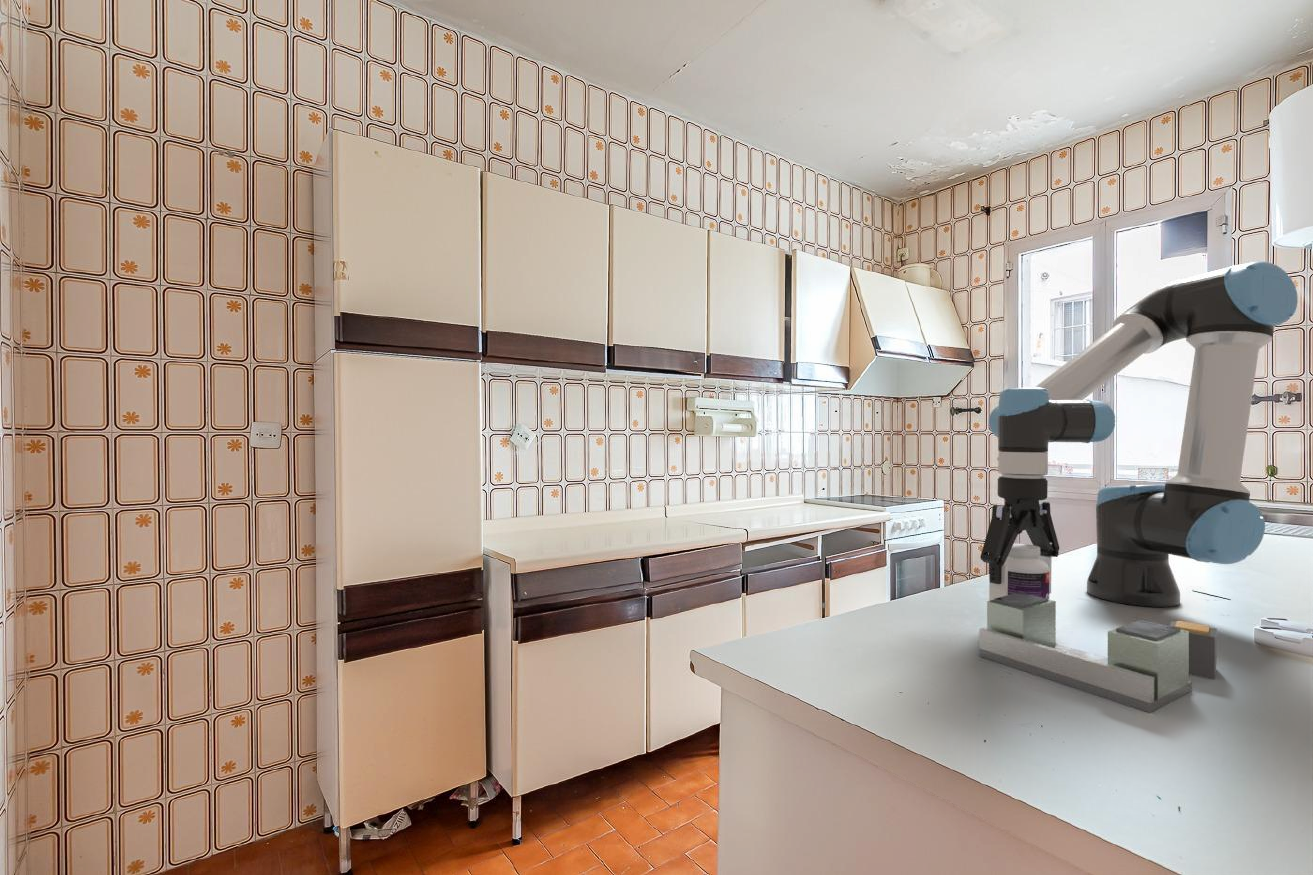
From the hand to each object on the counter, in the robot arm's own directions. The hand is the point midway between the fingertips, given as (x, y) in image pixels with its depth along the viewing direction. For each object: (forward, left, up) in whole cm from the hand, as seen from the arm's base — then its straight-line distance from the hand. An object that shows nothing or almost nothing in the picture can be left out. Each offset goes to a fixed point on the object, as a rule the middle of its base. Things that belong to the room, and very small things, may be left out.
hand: (1020, 597), depth 107 cm
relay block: (-2, +23, -6) cm, 24 cm away
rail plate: (+13, +15, -5) cm, 20 cm away
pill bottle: (0, 0, -6) cm, 6 cm away
